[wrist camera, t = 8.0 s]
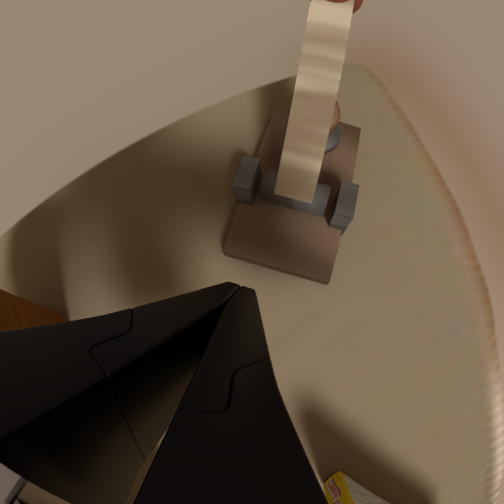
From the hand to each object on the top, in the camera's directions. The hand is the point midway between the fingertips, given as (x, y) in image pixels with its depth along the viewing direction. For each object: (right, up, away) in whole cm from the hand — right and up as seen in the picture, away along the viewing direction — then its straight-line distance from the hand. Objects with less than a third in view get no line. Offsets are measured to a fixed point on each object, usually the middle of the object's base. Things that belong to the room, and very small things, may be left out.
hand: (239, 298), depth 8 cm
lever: (+3, +4, +12) cm, 13 cm away
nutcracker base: (+4, +6, +14) cm, 16 cm away
